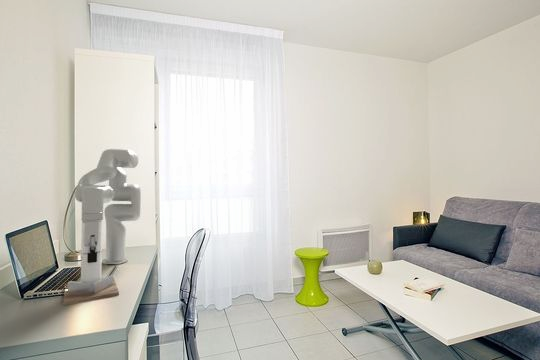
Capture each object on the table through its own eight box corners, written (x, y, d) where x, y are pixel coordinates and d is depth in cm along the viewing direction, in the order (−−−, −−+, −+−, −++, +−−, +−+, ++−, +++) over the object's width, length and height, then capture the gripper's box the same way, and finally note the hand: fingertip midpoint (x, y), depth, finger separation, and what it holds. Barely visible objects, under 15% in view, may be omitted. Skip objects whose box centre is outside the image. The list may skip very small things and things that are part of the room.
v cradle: (64, 287, 121) (65, 274, 121) (113, 279, 132) (113, 268, 132) (63, 305, 105) (63, 291, 105) (118, 294, 115) (119, 282, 115)
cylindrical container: (91, 286, 114) (92, 223, 114) (76, 284, 115) (77, 222, 115) (105, 280, 121) (106, 220, 121) (90, 278, 122) (91, 219, 122)
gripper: (81, 214, 123) (80, 256, 123) (82, 220, 109) (81, 267, 109) (101, 213, 127) (100, 253, 127) (104, 219, 113) (104, 264, 113)
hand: (91, 259), depth 118 cm, fingers closed on cylindrical container, 7 cm apart
